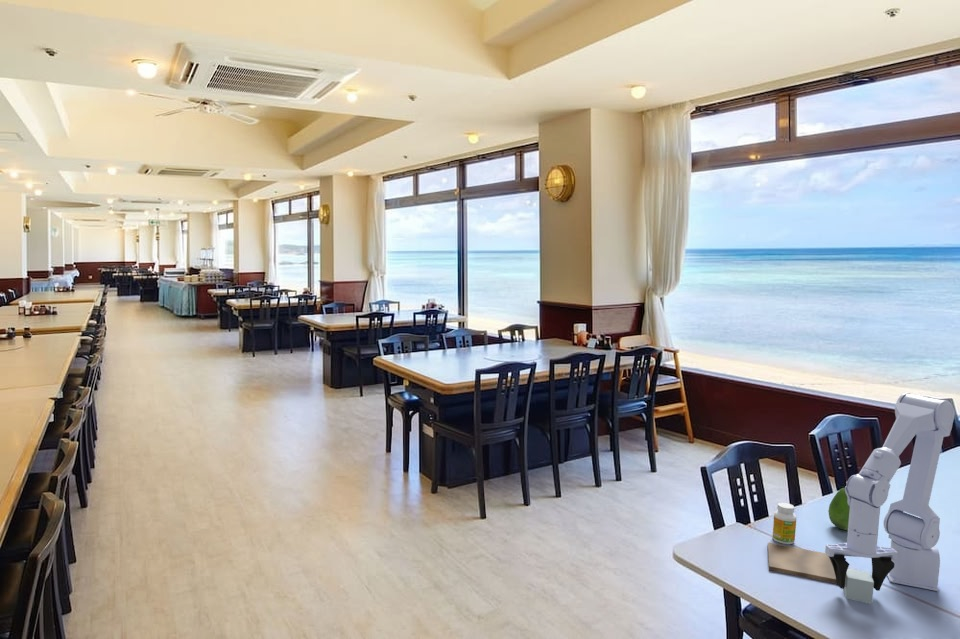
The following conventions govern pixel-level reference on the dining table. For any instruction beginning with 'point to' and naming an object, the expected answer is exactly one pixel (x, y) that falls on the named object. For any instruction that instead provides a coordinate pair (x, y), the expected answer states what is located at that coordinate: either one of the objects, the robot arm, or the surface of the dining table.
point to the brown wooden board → (800, 562)
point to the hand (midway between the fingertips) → (857, 587)
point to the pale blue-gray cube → (859, 585)
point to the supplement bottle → (784, 524)
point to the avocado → (839, 510)
